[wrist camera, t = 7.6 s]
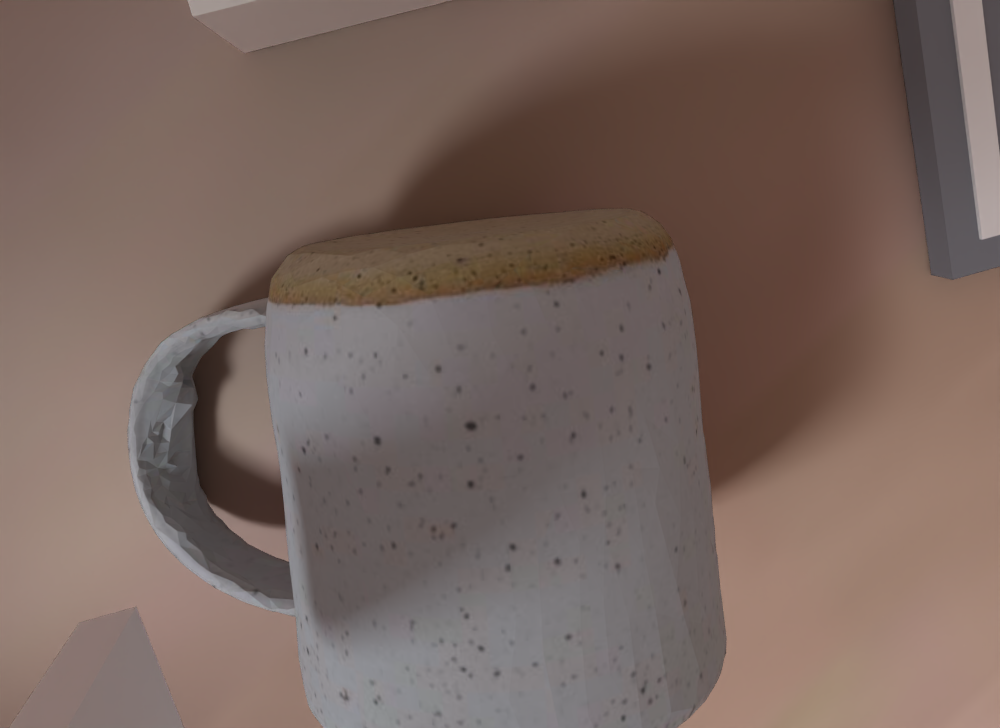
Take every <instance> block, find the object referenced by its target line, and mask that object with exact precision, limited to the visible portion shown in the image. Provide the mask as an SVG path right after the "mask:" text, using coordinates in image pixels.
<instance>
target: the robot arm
mask: <svg viewBox="0 0 1000 728" xmlns="http://www.w3.org/2000/svg"><path fill="white" fill-rule="evenodd" d="M9 728H184V727H183V724H182V721H181V719H180V716H179V714H178V711H177V709H176V706H175V704H174V701H173V699H172V696H171V693H170V691H169V688H168V686H167V683H166V681H165V678H164V676H163V673H162V671H161V668H160V666H159V663H158V660H157V658H156V655H155V653H154V650H153V648H152V645H151V643H150V640H149V638H148V635H147V633H146V630H145V627H144V625H143V622H142V620H141V617H140V615H139V612H138V610H137V607H133V608H129V609H126V610H122V611H119V612H115V613H112V614H108V615H105V616H101V617H98V618H94V619H91V620H87V621H83V622H80V623H79V624H78V625H77V627H76V628H75V630H74V631H73V633H72V634H71V636H70V637H69V639H68V640H67V642H66V643H65V645H64V646H63V648H62V649H61V651H60V652H59V654H58V655H57V657H56V658H55V660H54V661H53V663H52V664H51V666H50V667H49V669H48V670H47V672H46V673H45V675H44V676H43V678H42V679H41V680H40V682H39V683H38V685H37V686H36V688H35V689H34V691H33V692H32V694H31V695H30V697H29V698H28V700H27V701H26V703H25V704H24V706H23V707H22V709H21V710H20V712H19V713H18V715H17V716H16V718H15V719H14V721H13V722H12V724H11V725H10V727H9Z"/></svg>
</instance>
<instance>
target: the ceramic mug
mask: <svg viewBox="0 0 1000 728" xmlns="http://www.w3.org/2000/svg"><path fill="white" fill-rule="evenodd" d="M264 326H265V327H266V330H265V359H266V375H267V385H268V393H269V401H270V409H271V417H272V423H273V429H274V434H275V440H276V445H277V451H278V458H279V465H280V472H281V482H282V491H283V501H284V511H285V524H286V536H287V546H288V555H289V562H287V561H285V560H282V559H279V558H276V557H274V556H271V555H269V554H267V553H265V552H263V551H261V550H259V549H257V548H255V547H253V546H251V545H249V544H247V543H246V542H245V541H244V540H243V539H242V538H241V537H239V536H238V535H237V534H235V533H234V532H233V531H231V530H230V529H229V528H228V527H227V525H226V524H225V523H224V522H223V521H222V520H221V519H220V518H219V517H218V516H216V514H215V513H214V511H213V510H212V508H211V507H210V505H209V504H208V502H207V496H206V495H205V493H204V492H203V490H202V488H201V487H200V485H199V477H198V474H197V463H196V451H195V438H194V425H193V410H194V408H195V405H196V403H197V401H198V396H197V392H196V388H195V385H194V381H193V377H192V375H193V373H194V371H195V369H196V367H197V365H198V363H199V361H200V359H201V357H202V356H203V355H204V354H205V353H206V352H207V351H208V350H209V349H210V348H211V347H212V346H213V345H214V344H215V343H216V342H217V341H218V340H219V338H220V337H221V336H223V335H225V334H227V333H229V332H233V331H237V330H240V329H255V328H260V327H264ZM128 450H129V459H130V467H131V473H132V477H133V482H134V486H135V490H136V493H137V496H138V499H139V501H140V504H141V507H142V509H143V511H144V513H145V515H146V517H147V519H148V521H149V523H150V525H151V526H152V528H153V530H154V531H155V533H156V535H157V536H158V537H159V539H160V540H161V541H162V543H163V544H164V545H165V547H166V548H167V549H168V550H169V551H170V552H171V553H172V554H173V555H174V556H175V557H176V558H177V559H178V560H179V561H180V562H181V563H182V564H183V565H184V566H186V567H187V568H188V569H189V570H190V571H192V572H193V573H194V574H196V575H197V576H199V577H200V578H201V579H203V580H204V581H205V582H207V583H208V584H210V585H211V586H213V587H214V588H216V589H218V590H220V591H222V592H224V593H226V594H228V595H230V596H232V597H234V598H236V599H238V600H241V601H243V602H246V603H248V604H251V605H254V606H257V607H261V608H264V609H267V610H270V611H274V612H279V613H283V614H286V615H290V616H294V617H296V625H297V639H298V653H299V662H300V667H301V673H302V679H303V684H304V688H305V693H306V697H307V701H308V705H309V707H310V709H311V711H312V713H313V715H314V716H315V717H316V719H317V720H318V721H319V723H320V724H321V725H322V726H323V727H324V728H677V727H678V726H679V725H681V724H682V723H683V722H685V721H686V720H687V719H688V718H690V716H691V715H692V714H693V713H694V712H695V711H696V710H697V709H698V708H699V707H700V706H701V705H702V704H703V703H704V702H705V701H706V699H707V697H708V696H709V694H710V692H711V691H712V689H713V688H714V686H715V684H716V682H717V680H718V678H719V676H720V674H721V670H722V666H723V661H724V657H725V654H726V630H725V622H724V613H723V606H722V598H721V590H720V580H719V569H718V558H717V552H716V544H715V526H714V519H713V511H712V496H711V484H710V477H709V470H708V461H707V453H706V444H705V438H704V433H703V425H702V412H701V398H700V383H699V370H698V359H697V349H696V339H695V331H694V324H693V317H692V310H691V303H690V298H689V295H688V291H687V288H686V284H685V280H684V276H683V272H682V268H681V264H680V260H679V257H678V254H677V252H676V249H675V247H674V245H673V242H672V240H671V237H670V236H669V235H668V233H667V232H666V231H665V230H664V228H663V227H662V226H661V224H660V223H659V222H657V221H655V220H654V219H652V218H651V217H649V216H648V215H646V214H645V213H643V212H641V211H637V210H632V209H623V208H616V209H592V210H578V211H566V212H555V213H544V214H533V215H522V216H511V217H500V218H489V219H481V220H472V221H464V222H456V223H448V224H440V225H433V226H425V227H416V228H408V229H399V230H392V231H386V232H379V233H373V234H365V235H358V236H351V237H345V238H340V239H335V240H329V241H324V242H319V243H314V244H310V245H306V246H303V247H301V248H299V249H297V250H296V251H294V252H293V253H291V254H289V255H288V256H287V257H286V259H285V260H284V261H283V263H282V264H281V266H280V267H279V269H278V270H277V271H276V273H275V274H274V276H273V277H272V279H271V284H270V290H269V296H268V298H264V299H259V300H256V301H252V302H248V303H244V304H241V305H237V306H233V307H230V308H227V309H224V310H221V311H218V312H215V313H212V314H210V315H207V316H204V317H202V318H200V319H198V320H196V321H194V322H192V323H190V324H188V325H186V326H185V327H183V328H181V329H180V330H178V331H176V332H175V333H173V334H171V335H170V336H169V337H167V338H166V339H165V340H164V341H162V342H161V343H160V345H159V346H158V347H157V349H156V350H155V351H154V353H153V354H152V356H151V357H150V358H149V360H148V361H147V363H146V364H145V366H144V368H143V370H142V372H141V374H140V376H139V378H138V380H137V382H136V384H135V386H134V388H133V394H132V399H131V404H130V410H129V424H128Z"/></svg>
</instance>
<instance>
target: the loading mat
mask: <svg viewBox="0 0 1000 728" xmlns="http://www.w3.org/2000/svg"><path fill="white" fill-rule="evenodd" d="M893 2H894V9H895V16H896V23H897V31H898V38H899V45H900V52H901V60H902V67H903V74H904V81H905V88H906V96H907V103H908V110H909V117H910V124H911V132H912V139H913V146H914V153H915V160H916V168H917V175H918V182H919V189H920V196H921V204H922V211H923V218H924V225H925V232H926V240H927V247H928V254H929V261H930V269H931V275H934V276H939V277H943V278H947V279H952V280H954V279H957V278H961V277H964V276H968V275H971V274H975V273H978V272H982V271H985V270H989V269H992V268H996V267H999V266H1000V0H893Z"/></svg>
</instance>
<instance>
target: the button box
mask: <svg viewBox="0 0 1000 728" xmlns="http://www.w3.org/2000/svg"><path fill="white" fill-rule="evenodd" d="M187 1H188V4H189V7H190V10H191V13H192V16H193V17H194V18H195V19H197V20H198V21H199V22H201V23H202V24H204V25H205V26H206V27H208V28H209V29H211V30H212V31H214V32H215V33H216V34H218V35H219V36H221V37H222V38H223V39H225V40H226V41H228V42H229V43H231V44H232V45H233V46H235V47H236V48H238V49H239V50H240V51H242V52H243V53H247V52H251V51H255V50H259V49H263V48H267V47H271V46H275V45H279V44H283V43H287V42H290V41H294V40H298V39H302V38H306V37H310V36H314V35H318V34H322V33H326V32H330V31H334V30H337V29H341V28H345V27H349V26H353V25H357V24H361V23H365V22H369V21H373V20H377V19H381V18H384V17H388V16H392V15H396V14H400V13H404V12H408V11H412V10H416V9H420V8H424V7H428V6H431V5H435V4H439V3H443V2H447V1H451V0H187Z"/></svg>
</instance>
